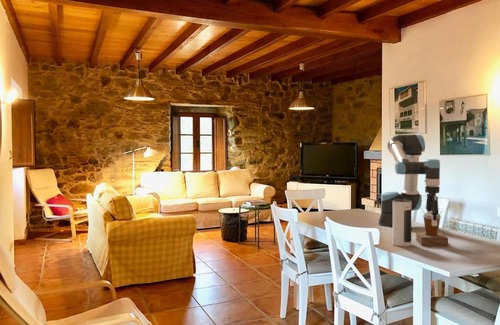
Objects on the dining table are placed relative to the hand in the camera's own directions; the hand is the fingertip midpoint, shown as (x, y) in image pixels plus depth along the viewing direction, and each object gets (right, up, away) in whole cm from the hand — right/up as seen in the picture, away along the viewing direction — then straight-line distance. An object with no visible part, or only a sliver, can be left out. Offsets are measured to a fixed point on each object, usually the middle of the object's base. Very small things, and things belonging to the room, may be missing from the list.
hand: (431, 223), depth 238 cm
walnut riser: (0, -11, +1) cm, 11 cm away
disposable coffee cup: (0, -7, 0) cm, 7 cm away
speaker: (-18, -12, -1) cm, 22 cm away
